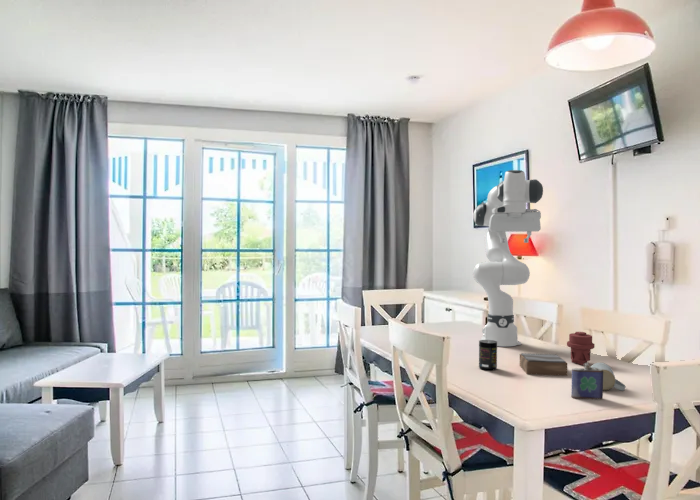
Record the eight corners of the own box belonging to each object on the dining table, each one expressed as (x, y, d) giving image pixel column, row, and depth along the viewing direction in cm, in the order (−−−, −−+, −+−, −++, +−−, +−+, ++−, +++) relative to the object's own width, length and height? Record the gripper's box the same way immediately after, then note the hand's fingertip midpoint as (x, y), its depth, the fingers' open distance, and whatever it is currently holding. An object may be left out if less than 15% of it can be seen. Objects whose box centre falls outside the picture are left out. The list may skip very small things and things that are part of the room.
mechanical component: (590, 361, 204) (597, 367, 195) (564, 359, 206) (569, 365, 197) (590, 330, 204) (597, 335, 194) (564, 329, 206) (570, 334, 196)
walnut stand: (519, 365, 196) (519, 352, 196) (557, 366, 194) (557, 354, 194) (527, 374, 183) (527, 360, 183) (567, 375, 181) (567, 361, 181)
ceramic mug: (591, 390, 164) (591, 366, 163) (587, 383, 171) (588, 361, 171) (627, 394, 160) (628, 370, 160) (622, 387, 168) (623, 364, 168)
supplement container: (498, 367, 193) (498, 340, 193) (495, 371, 187) (495, 343, 187) (480, 365, 196) (481, 339, 196) (476, 369, 190) (477, 342, 190)
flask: (572, 398, 154) (573, 363, 154) (569, 395, 157) (570, 361, 157) (604, 399, 154) (604, 364, 153) (600, 397, 156) (600, 362, 156)
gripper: (538, 209, 209) (538, 242, 209) (488, 209, 211) (488, 242, 212) (542, 208, 203) (542, 242, 203) (490, 208, 205) (490, 242, 205)
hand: (514, 242), depth 207 cm, fingers open, 8 cm apart
